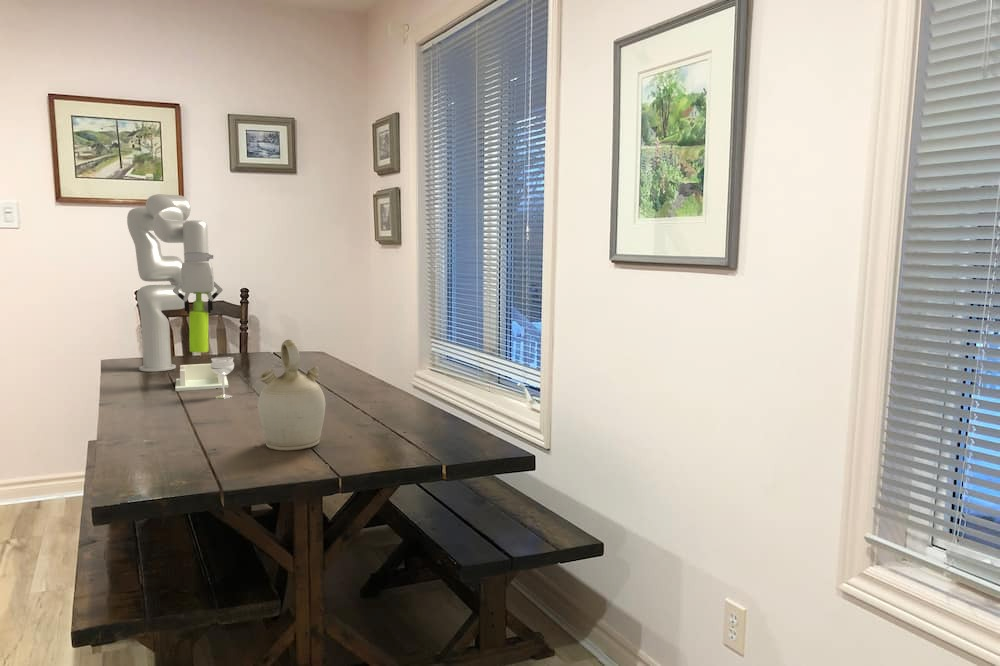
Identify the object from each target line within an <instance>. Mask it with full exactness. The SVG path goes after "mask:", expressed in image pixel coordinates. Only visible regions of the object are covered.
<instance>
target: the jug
mask: <svg viewBox="0 0 1000 666" xmlns="http://www.w3.org/2000/svg"><path fill="white" fill-rule="evenodd" d="M280 356H281V357H280V360H281V363H282V366H283V369H284V371H283V373H282V374H281V375H279V376H278V377H276V375H275V370H274V369H272V368H271V369H270V368H269V369H267V370H265V371H264V372H262V373H261V374H260V375H259V377H258V380H259V382H262V383H264V384H265V386H264V387H263V388H262V390H261V392H260V395H259V397H258V402H257V411H258V412H257V413H258V417H259V421H260V425H261V428H262V429H261V430H262V434H263V438H264V440H265V441H264V442H265V445H266V447H267V448H268V449H270V450H275V451H284V452H285V451H288V452H291V451H298V450H300V451H301V450H305V449H310V448H312V447H314V446H318V445H319V444H320V438H321V436H322V430H323V425H324V421H325V413H326V406H327V405H326V397H325V394H324V392H323V390H322V388H321V386H320V385H319V384H318V383H317V382H316V380H317V379H318V378H319V370H320V368H319V367H318V366H316V365H315V366H313V367H312V368H311V369H308V370H306V371H307V372H306V374H301V373H300V372H299V368H300V358H301V357H300V352H299V348H298V345H297V344H296V342H295V341H294V340H292V339H286V340H284V341H283V342H282V344H281V347H280Z"/></svg>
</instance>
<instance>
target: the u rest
mask: <svg viewBox="0 0 1000 666" xmlns="http://www.w3.org/2000/svg"><path fill="white" fill-rule="evenodd" d="M174 388H175V392H183V391H184V392H185V391H186V392H187V391H199V390H201V391H202V390H213V389H214V390H215V389H216V388H218V389H223V386H222V377H221V376H220V375H218V374H216V373H215V372H214V371H213V370H212V368H211V363H197V364H195V363H194V364H180V365H179V378H176V379H175V387H174ZM228 388H229V381H228V377H227V375H226V376H225V377H224V389H228Z"/></svg>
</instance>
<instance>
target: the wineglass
mask: <svg viewBox="0 0 1000 666" xmlns="http://www.w3.org/2000/svg"><path fill="white" fill-rule="evenodd" d="M210 360H211V363H210V364H211V368H212V370H213V371H214V372H215V373H216V374H218V375H220V376H221V377H222V386H223V388H222V394H221V395H217V396H215V397H216V398H215V399H218V398H224V399H230V397H231V398H233V395H230V394H226V393H225V388H224V377H225V376H226V377H227V375H229V374H230V373H231V372H232V371H233V370H234V368H235V362H234V357H233V356H232V357H231V356H217V357H212V358H210Z"/></svg>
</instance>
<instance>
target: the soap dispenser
mask: <svg viewBox="0 0 1000 666" xmlns="http://www.w3.org/2000/svg"><path fill="white" fill-rule="evenodd" d="M210 293H211V292H210ZM210 293H192V294H193V295H195V300H194V301H193V303H192V305H193V306H192V307H193V309H192V311H189V314H188V317H189V319H188V321H189V327H188V328H189V332H188V334H189V335H188V336H189V339H188V340H189V352H190V353H207V352H209V313H208V311H206V310H205V301H204V300H202V294H204V295H207V294H208V295H209V294H210Z"/></svg>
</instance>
